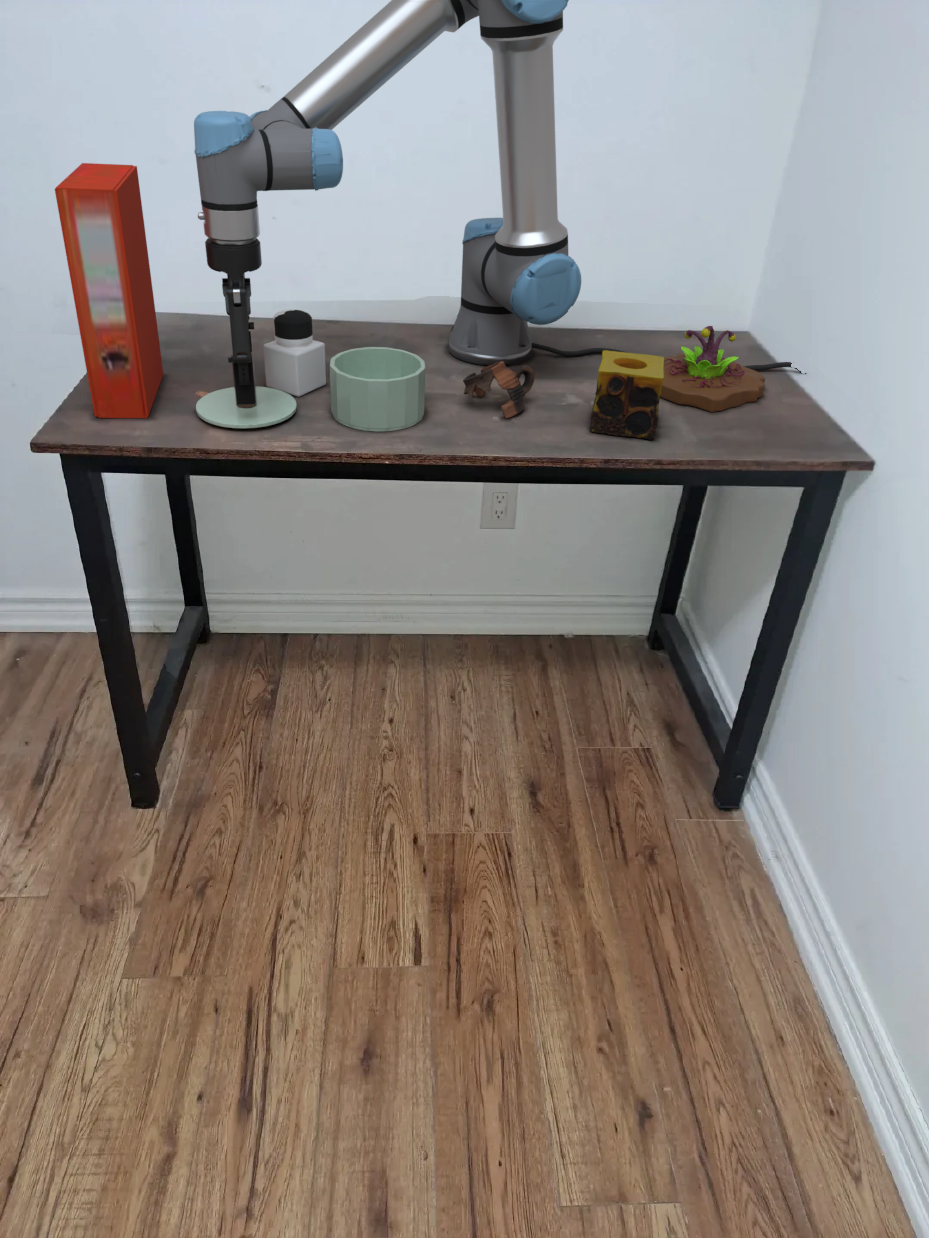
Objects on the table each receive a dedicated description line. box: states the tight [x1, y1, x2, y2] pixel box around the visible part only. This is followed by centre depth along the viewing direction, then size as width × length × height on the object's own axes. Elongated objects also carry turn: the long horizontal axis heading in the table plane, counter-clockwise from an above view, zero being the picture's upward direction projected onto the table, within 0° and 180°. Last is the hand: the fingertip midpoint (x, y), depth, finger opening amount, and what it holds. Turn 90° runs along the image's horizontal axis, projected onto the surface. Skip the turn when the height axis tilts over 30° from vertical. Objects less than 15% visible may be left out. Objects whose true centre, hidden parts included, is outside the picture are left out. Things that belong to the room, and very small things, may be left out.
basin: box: [329, 346, 426, 433], centre depth 145 cm, size 14×14×8 cm
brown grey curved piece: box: [462, 361, 535, 420], centre depth 151 cm, size 12×10×8 cm
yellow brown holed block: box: [589, 350, 665, 441], centre depth 146 cm, size 10×10×10 cm
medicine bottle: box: [262, 309, 327, 398], centre depth 151 cm, size 7×7×12 cm
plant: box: [660, 325, 766, 413], centre depth 160 cm, size 20×20×11 cm
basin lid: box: [195, 351, 298, 429], centre depth 143 cm, size 15×15×9 cm
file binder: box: [54, 162, 164, 419], centre depth 139 cm, size 8×17×32 cm, turn 7°
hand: (245, 387), depth 143 cm, fingers open, 12 cm apart
